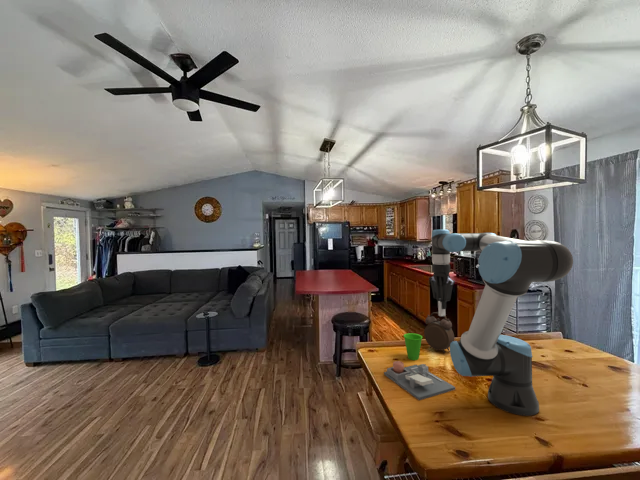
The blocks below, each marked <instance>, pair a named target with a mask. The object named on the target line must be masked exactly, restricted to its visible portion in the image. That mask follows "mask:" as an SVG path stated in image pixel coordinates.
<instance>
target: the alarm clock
mask: <svg viewBox="0 0 640 480" xmlns="http://www.w3.org/2000/svg"><path fill="white" fill-rule="evenodd" d="M434 314H437V315H438V311H436V312H431V313H430V315H429V314H427V317H426V318H425V319H424V321H425V324H426V326H425V327H424V330H423V331H424V333H423V335H424V339H425V341H426V343H427V344H428V346H429V349H431V348H432V349H433V350H435V351H442V352H443V353H444V354H445V353H446V352H445V350H448V353H450V344H451V342H453V341H455V334H454V331H453V329H452V327H453V324H452V321H451V320H450V318H447V316H443V319H440V318H439V317H438V318H436V317H435V316H433V315H434Z"/></svg>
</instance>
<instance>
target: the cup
mask: <svg viewBox="0 0 640 480" xmlns="http://www.w3.org/2000/svg"><path fill="white" fill-rule="evenodd" d="M403 338H404V344H405V350H406V355H407V358H408V360H410V361H418V360H419V359H420V352H421V346H422V339H423V335H421V334H418V333H415V332H413V333H412V332H410V333H409V332H408V333H404V334H403Z"/></svg>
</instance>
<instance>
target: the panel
mask: <svg viewBox="0 0 640 480" xmlns="http://www.w3.org/2000/svg"><path fill="white" fill-rule="evenodd" d="M418 365H419V364H414V365H409V366H404V373H400V374H398V373H395V372H394V371H393V366H392V367H387V368H386V371H384V372H383V375H384V376H386V377H387V378H388V379H389V380H391V381H392V382H393V383H395V385H397V386H399V387H401V388H402V389H403V390H405V391H406V392H407V393H408V394H410V395H411V396H413V398H415V399H417V400H418V401H422V400H426V399H428V398H432V397H435V396H438V395H442V394H445V393H449V392H452V391H456V386H454V385H453V384H451V383H449V382H447V381H446V380H443V379H442V378H440V377H439V376H437V375H435V374H433V373H432V372H430V371H428V373H429V375H424V374H422V376H424V377H427V378H429V379H432V381H433V383H431V384H427V385H424V386H422V385H420V384H417V383H415V381H414V379H413V378H410V380H408V379H406V378H405V375H409V374H413V373H417V374H419V373H418ZM419 375H420V374H419Z"/></svg>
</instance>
